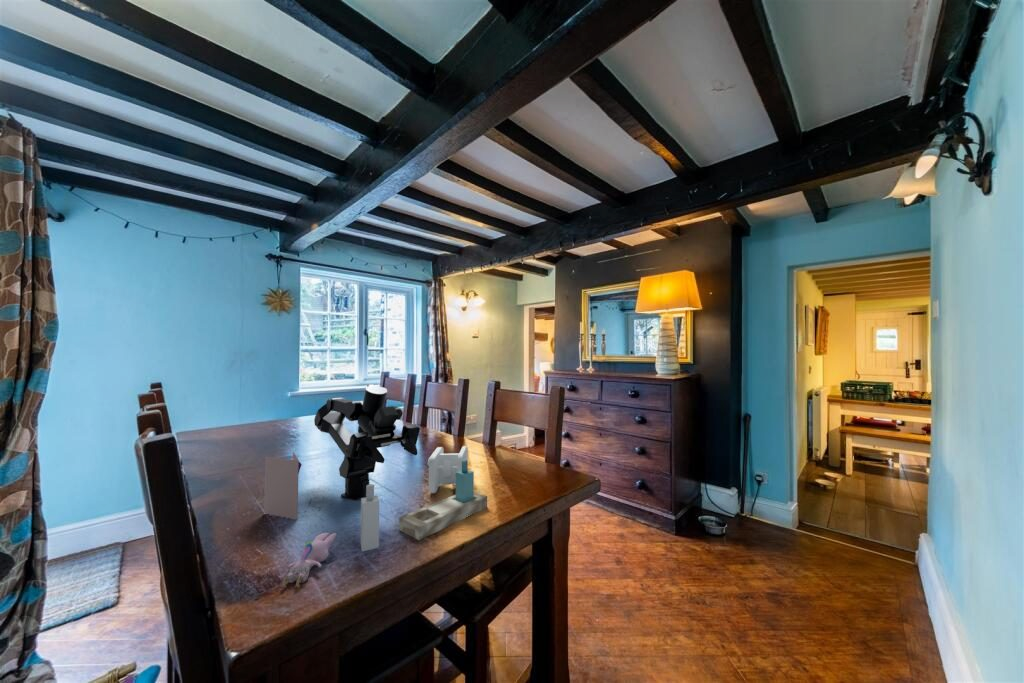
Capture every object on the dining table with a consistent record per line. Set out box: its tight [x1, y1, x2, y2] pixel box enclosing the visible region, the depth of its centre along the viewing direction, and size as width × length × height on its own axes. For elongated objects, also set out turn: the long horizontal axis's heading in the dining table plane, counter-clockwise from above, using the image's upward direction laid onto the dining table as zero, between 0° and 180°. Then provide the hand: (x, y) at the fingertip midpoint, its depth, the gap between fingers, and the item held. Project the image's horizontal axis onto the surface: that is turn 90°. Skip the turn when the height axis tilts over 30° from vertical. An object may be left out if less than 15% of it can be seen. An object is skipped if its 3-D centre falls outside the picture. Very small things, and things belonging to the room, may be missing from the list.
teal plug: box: [455, 459, 475, 503], centre depth 97 cm, size 3×3×13 cm
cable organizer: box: [427, 445, 469, 494], centre depth 114 cm, size 15×11×12 cm
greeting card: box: [263, 451, 302, 521], centre depth 94 cm, size 11×7×15 cm, turn 37°
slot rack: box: [398, 491, 488, 541], centre depth 92 cm, size 22×8×3 cm, turn 141°
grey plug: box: [360, 483, 380, 553], centre depth 79 cm, size 3×3×13 cm
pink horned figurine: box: [281, 532, 337, 589], centre depth 71 cm, size 6×6×15 cm
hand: (400, 457), depth 91 cm, fingers open, 9 cm apart
